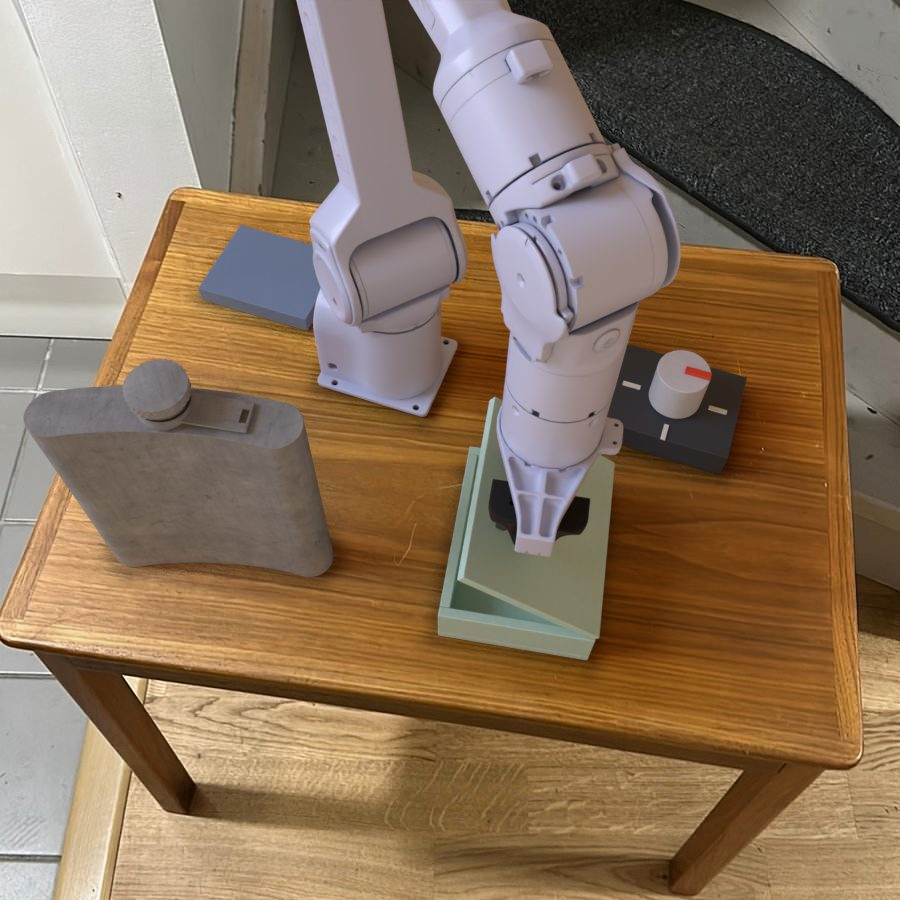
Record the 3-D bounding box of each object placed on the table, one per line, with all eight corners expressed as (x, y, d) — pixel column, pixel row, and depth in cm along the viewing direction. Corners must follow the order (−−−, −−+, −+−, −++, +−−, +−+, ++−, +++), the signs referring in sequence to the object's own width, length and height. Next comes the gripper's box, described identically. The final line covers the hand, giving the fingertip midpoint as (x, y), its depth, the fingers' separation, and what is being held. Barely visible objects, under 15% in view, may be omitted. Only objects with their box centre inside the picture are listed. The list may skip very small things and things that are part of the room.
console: (593, 438, 73) (598, 419, 70) (619, 360, 77) (624, 340, 74) (719, 476, 71) (728, 458, 69) (738, 394, 75) (748, 374, 73)
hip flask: (110, 566, 66) (-3, 410, 49) (123, 516, 69) (20, 349, 52) (330, 578, 66) (293, 425, 49) (337, 527, 68) (304, 364, 51)
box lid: (456, 580, 55) (498, 561, 52) (489, 400, 62) (528, 373, 59) (592, 640, 60) (639, 626, 57) (608, 466, 67) (651, 444, 64)
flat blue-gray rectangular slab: (201, 300, 80) (197, 288, 78) (243, 236, 84) (240, 224, 82) (307, 331, 78) (305, 319, 77) (345, 265, 82) (343, 253, 81)
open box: (437, 635, 64) (437, 615, 61) (468, 471, 71) (469, 445, 68) (587, 660, 63) (595, 641, 60) (603, 492, 70) (611, 467, 67)
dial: (643, 410, 71) (652, 381, 68) (654, 371, 73) (665, 341, 70) (694, 425, 70) (706, 396, 67) (704, 385, 72) (717, 355, 69)
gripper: (627, 511, 44) (588, 617, 55) (645, 284, 51) (607, 419, 63) (481, 488, 44) (472, 598, 56) (520, 267, 52) (505, 404, 63)
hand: (536, 503), depth 59 cm, fingers closed on box lid, 5 cm apart
